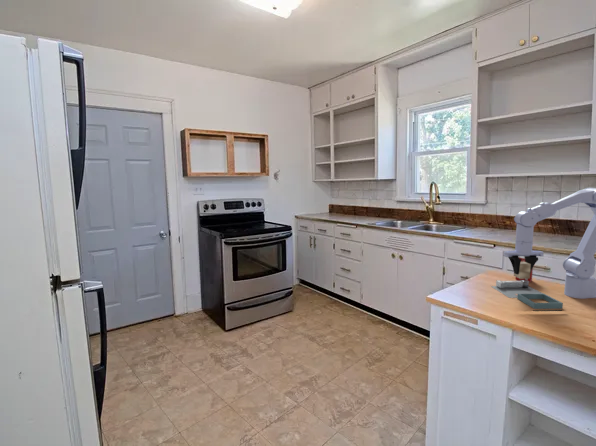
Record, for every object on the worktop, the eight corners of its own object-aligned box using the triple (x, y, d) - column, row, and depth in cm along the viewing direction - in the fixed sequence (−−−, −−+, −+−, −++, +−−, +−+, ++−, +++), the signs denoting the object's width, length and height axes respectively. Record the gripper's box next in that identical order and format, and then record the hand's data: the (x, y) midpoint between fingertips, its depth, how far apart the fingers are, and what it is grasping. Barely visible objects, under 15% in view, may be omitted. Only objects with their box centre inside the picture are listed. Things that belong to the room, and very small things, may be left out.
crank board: (527, 287, 144) (528, 285, 144) (550, 299, 130) (550, 297, 130) (490, 288, 145) (490, 286, 144) (509, 300, 131) (509, 297, 131)
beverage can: (512, 280, 154) (513, 255, 153) (524, 279, 155) (525, 254, 153) (522, 284, 148) (524, 258, 146) (535, 283, 149) (537, 258, 147)
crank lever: (525, 285, 143) (525, 279, 143) (530, 288, 140) (530, 282, 139) (496, 285, 144) (496, 279, 144) (500, 288, 140) (500, 282, 140)
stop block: (523, 275, 136) (524, 261, 135) (529, 278, 132) (530, 264, 131) (513, 275, 136) (514, 261, 136) (519, 278, 133) (520, 264, 132)
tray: (543, 300, 129) (543, 293, 129) (562, 310, 119) (562, 303, 119) (517, 301, 130) (517, 293, 129) (533, 311, 120) (534, 303, 119)
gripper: (536, 238, 136) (534, 270, 138) (500, 239, 137) (498, 270, 138) (548, 242, 129) (545, 275, 131) (509, 242, 130) (507, 275, 131)
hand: (522, 273), depth 134 cm, fingers closed on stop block, 4 cm apart
